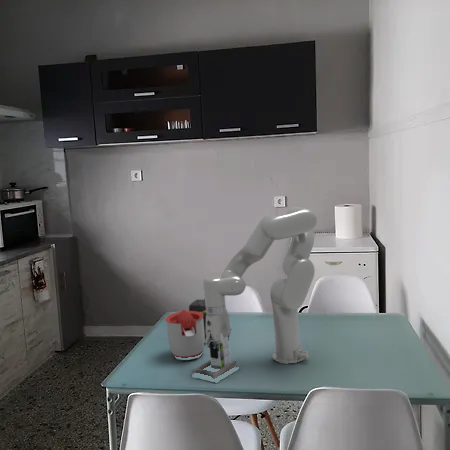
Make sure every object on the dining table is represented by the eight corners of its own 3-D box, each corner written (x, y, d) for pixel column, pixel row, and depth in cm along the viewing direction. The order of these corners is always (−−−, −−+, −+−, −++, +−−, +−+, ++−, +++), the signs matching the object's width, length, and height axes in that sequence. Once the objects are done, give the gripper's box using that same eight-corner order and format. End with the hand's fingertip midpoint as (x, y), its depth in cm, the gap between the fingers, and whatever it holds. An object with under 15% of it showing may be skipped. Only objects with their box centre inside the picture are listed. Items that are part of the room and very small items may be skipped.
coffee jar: (207, 345, 222) (203, 304, 219) (190, 345, 224) (186, 304, 221) (212, 337, 231) (209, 297, 229) (196, 337, 233) (192, 298, 231)
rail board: (239, 369, 195) (238, 361, 195) (217, 383, 184) (216, 375, 184) (214, 363, 202) (213, 356, 202) (191, 377, 191) (190, 369, 191)
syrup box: (210, 369, 195) (207, 332, 193) (218, 363, 200) (214, 327, 198) (223, 371, 192) (220, 334, 190) (231, 364, 197) (227, 328, 195)
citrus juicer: (173, 368, 201) (168, 319, 198) (166, 352, 218) (162, 307, 215) (212, 360, 205) (207, 312, 202) (202, 346, 222) (198, 301, 219)
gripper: (209, 317, 184) (214, 365, 186) (237, 303, 197) (240, 348, 200) (193, 314, 188) (198, 361, 190) (221, 301, 202) (225, 345, 204)
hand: (219, 354), depth 195 cm, fingers closed on syrup box, 6 cm apart
